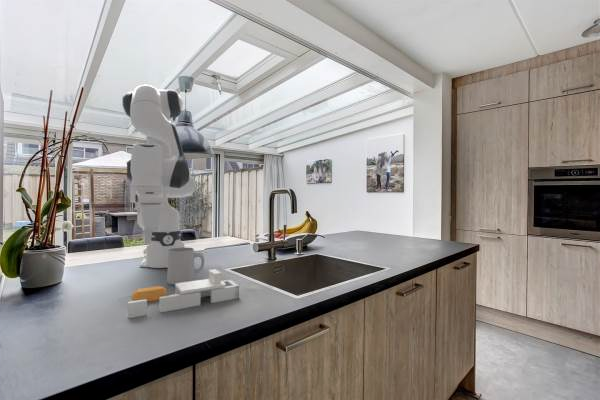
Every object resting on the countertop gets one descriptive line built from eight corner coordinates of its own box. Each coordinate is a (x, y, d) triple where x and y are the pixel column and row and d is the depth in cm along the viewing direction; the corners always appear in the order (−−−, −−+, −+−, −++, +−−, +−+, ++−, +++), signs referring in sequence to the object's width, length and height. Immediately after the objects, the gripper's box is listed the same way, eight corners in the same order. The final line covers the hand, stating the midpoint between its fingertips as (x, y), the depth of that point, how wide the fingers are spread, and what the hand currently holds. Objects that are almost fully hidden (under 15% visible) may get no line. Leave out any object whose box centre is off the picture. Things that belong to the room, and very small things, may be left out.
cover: (175, 286, 86) (175, 272, 86) (217, 280, 92) (217, 267, 92) (181, 294, 79) (181, 279, 79) (226, 286, 86) (226, 273, 86)
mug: (169, 286, 98) (169, 252, 98) (165, 280, 106) (165, 248, 105) (207, 281, 104) (207, 249, 104) (201, 275, 112) (201, 245, 111)
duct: (126, 308, 79) (126, 294, 79) (230, 291, 94) (230, 279, 94) (128, 318, 73) (128, 303, 73) (239, 298, 88) (239, 285, 88)
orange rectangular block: (131, 300, 85) (131, 290, 85) (165, 295, 90) (166, 285, 90) (131, 304, 82) (132, 293, 82) (167, 298, 87) (167, 287, 87)
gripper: (132, 196, 98) (132, 239, 98) (138, 197, 81) (138, 249, 81) (153, 196, 101) (153, 237, 102) (164, 197, 84) (164, 247, 85)
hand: (147, 242), depth 91 cm, fingers closed
